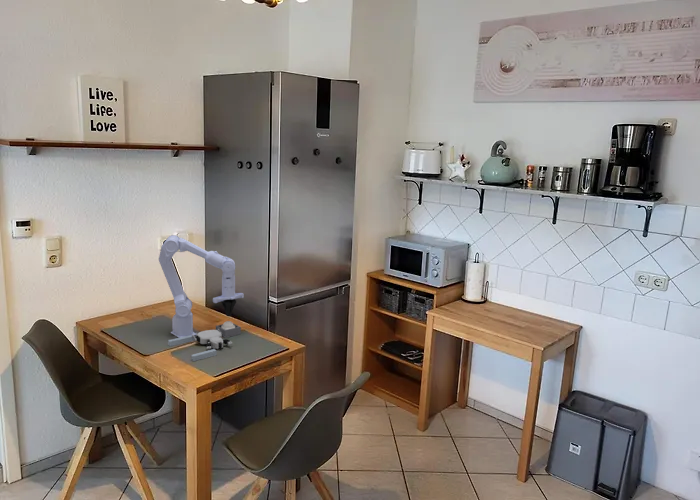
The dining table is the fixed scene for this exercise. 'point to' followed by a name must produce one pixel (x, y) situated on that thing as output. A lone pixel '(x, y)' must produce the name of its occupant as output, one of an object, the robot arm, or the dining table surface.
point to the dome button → (228, 325)
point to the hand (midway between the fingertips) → (228, 315)
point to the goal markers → (194, 356)
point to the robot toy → (211, 339)
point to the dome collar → (229, 331)
